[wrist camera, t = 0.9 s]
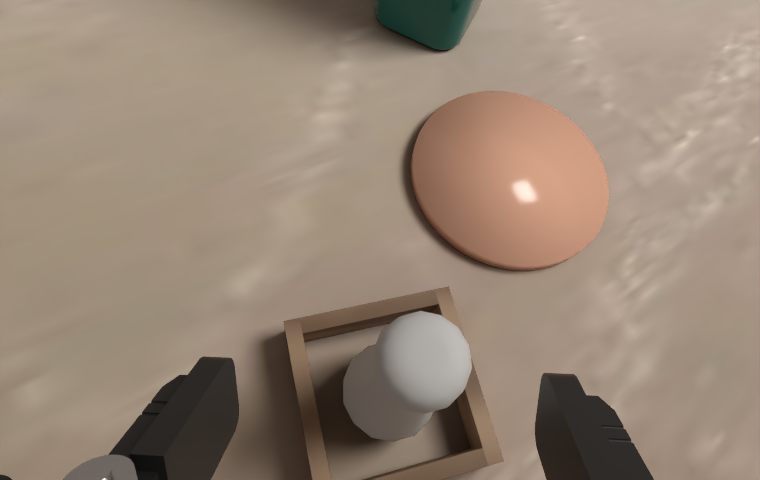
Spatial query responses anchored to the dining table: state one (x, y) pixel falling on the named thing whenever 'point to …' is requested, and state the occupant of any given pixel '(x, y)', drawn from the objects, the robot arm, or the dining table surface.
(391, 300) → the brown wooden square frame
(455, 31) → the pitcher
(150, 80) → the dining table surface
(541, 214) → the terracotta pad
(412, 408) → the salt shaker
